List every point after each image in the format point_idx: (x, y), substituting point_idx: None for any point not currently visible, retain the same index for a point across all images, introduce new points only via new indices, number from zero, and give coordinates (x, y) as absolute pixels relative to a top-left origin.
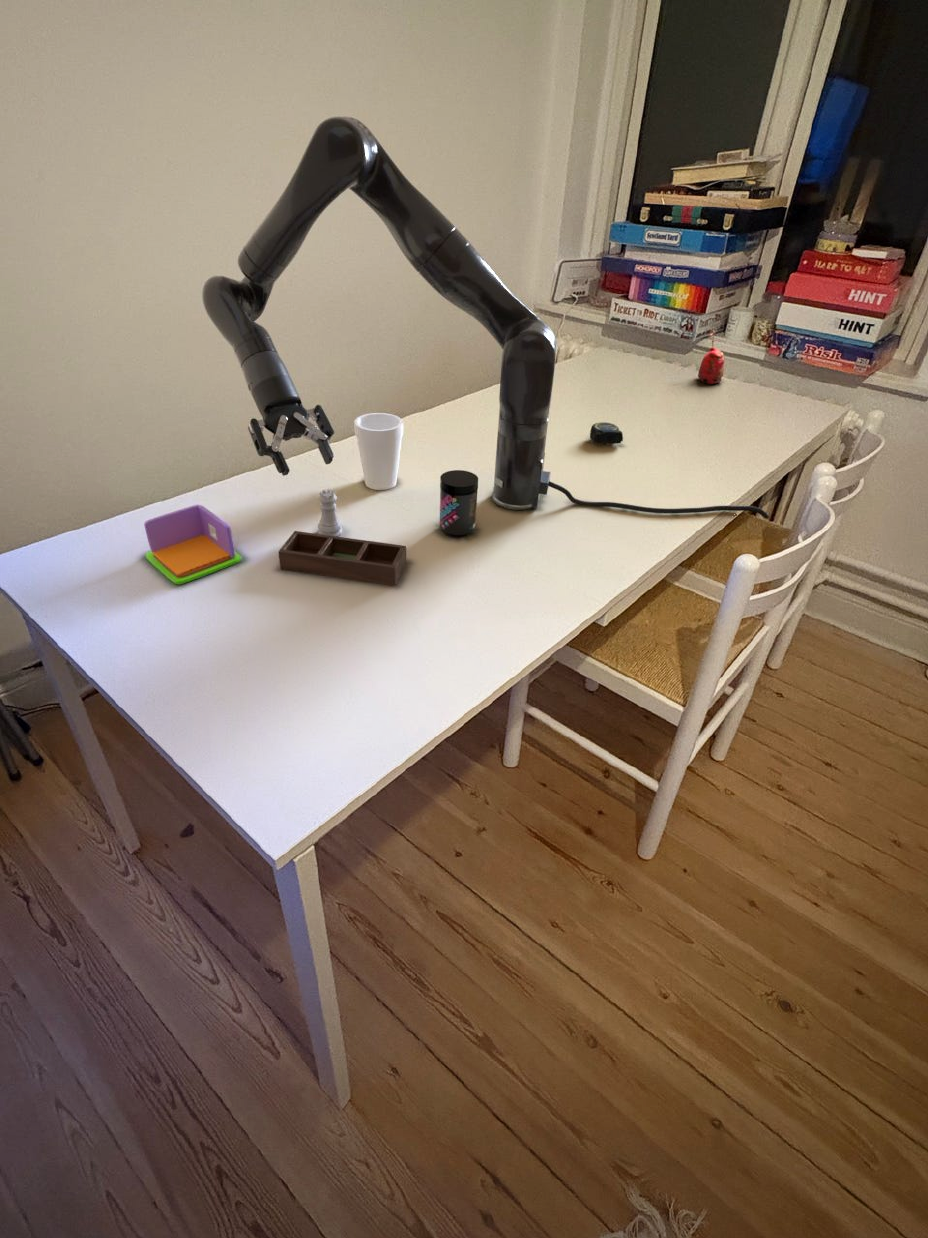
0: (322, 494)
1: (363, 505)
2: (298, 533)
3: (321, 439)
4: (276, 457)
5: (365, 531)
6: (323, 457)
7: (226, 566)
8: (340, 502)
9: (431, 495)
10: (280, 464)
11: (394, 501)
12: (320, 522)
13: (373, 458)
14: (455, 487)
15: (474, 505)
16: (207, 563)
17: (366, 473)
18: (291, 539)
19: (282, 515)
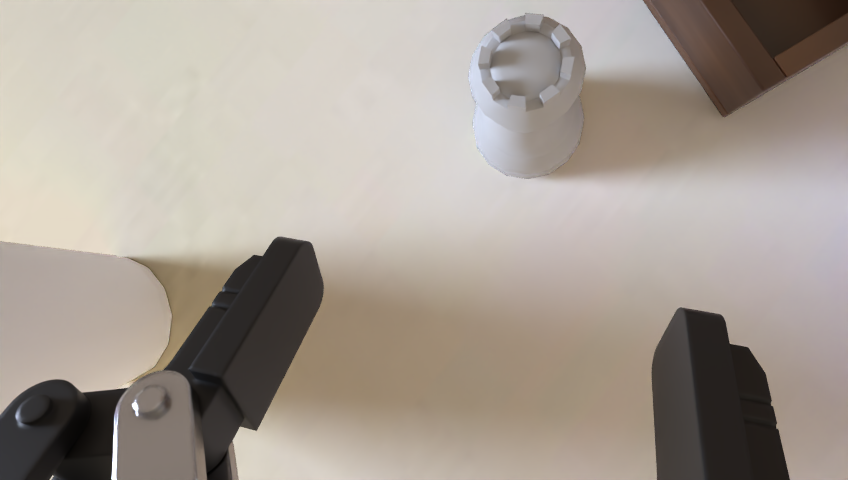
0: (545, 87)
1: (280, 222)
2: (767, 54)
3: (197, 402)
4: (768, 477)
5: (413, 46)
6: (300, 331)
7: None
8: (327, 308)
9: (60, 107)
10: (746, 392)
11: (179, 164)
12: (569, 125)
13: (39, 293)
14: None
15: None
16: None
17: (127, 338)
18: (841, 23)
19: (579, 398)
